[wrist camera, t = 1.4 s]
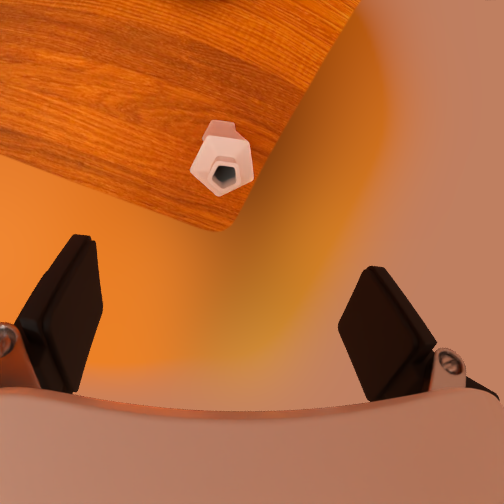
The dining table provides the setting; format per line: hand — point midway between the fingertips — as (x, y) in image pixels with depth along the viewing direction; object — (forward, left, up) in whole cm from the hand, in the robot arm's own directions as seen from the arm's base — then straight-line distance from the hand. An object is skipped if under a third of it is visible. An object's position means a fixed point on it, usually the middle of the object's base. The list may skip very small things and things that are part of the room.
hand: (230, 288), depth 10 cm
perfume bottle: (0, -1, -25) cm, 25 cm away
